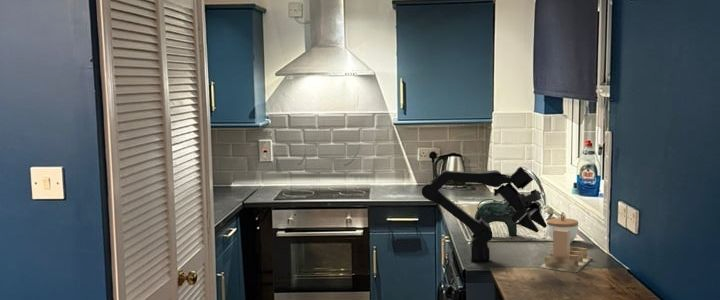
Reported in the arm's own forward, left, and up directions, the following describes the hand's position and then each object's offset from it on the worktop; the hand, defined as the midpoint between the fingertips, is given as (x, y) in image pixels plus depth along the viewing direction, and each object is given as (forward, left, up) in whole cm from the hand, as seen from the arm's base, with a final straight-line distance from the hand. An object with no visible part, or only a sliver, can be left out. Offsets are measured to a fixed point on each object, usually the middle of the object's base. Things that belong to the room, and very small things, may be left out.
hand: (542, 229), depth 233 cm
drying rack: (+9, +2, -13) cm, 16 cm away
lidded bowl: (+13, +36, -14) cm, 41 cm away
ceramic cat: (-13, +48, -14) cm, 51 cm away
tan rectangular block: (+6, -3, -13) cm, 15 cm away
